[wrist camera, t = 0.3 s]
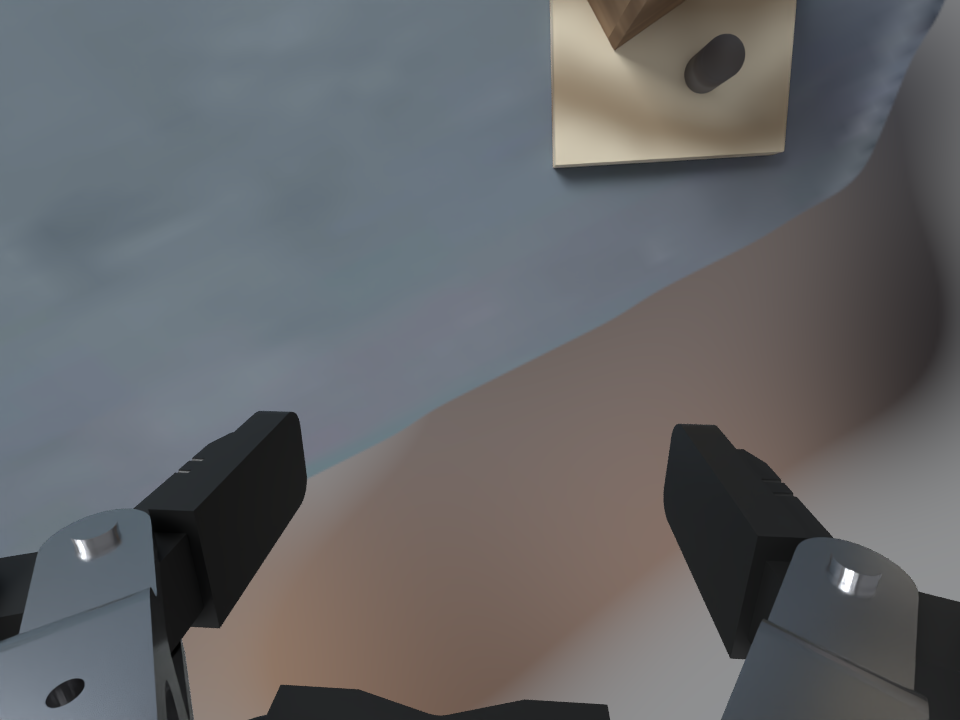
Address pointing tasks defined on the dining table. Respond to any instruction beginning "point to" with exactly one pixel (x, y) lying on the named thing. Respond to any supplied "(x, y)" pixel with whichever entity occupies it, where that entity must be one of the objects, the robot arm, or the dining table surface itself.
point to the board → (671, 84)
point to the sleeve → (629, 16)
